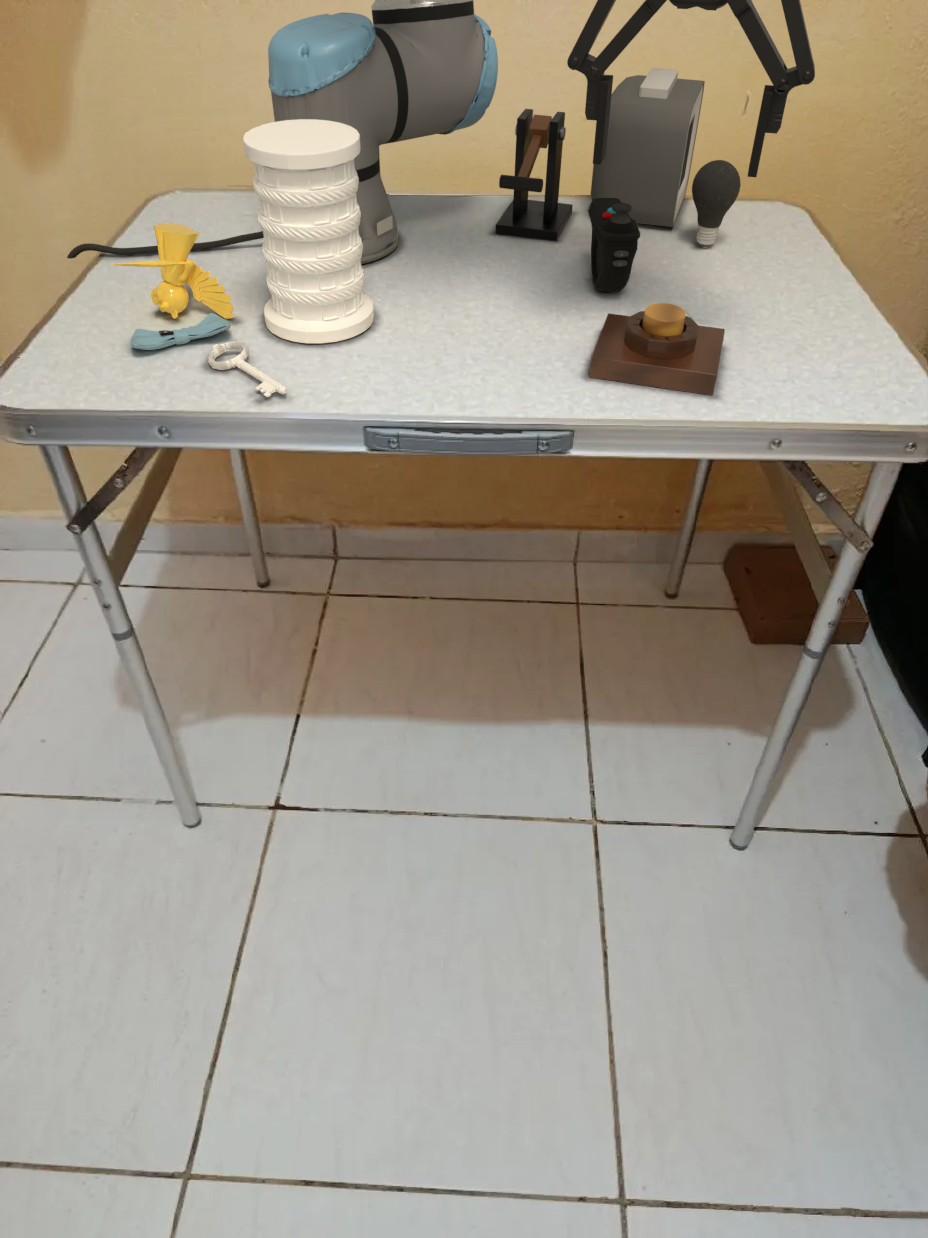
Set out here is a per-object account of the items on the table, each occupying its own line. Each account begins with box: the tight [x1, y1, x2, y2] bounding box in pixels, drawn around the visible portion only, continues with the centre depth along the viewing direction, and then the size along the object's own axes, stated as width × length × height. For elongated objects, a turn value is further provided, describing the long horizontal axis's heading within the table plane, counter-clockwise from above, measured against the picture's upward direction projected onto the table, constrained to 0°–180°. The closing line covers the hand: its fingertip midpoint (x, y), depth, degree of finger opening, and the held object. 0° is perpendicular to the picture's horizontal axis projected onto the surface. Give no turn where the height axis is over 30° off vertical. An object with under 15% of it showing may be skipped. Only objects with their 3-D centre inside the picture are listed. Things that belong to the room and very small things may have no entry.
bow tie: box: [130, 312, 232, 351], centre depth 94 cm, size 10×2×5 cm
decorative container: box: [242, 119, 375, 344], centre depth 92 cm, size 12×12×18 cm
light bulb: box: [691, 159, 741, 249], centre depth 111 cm, size 6×6×10 cm
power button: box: [642, 302, 687, 336], centre depth 89 cm, size 4×4×2 cm
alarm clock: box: [590, 67, 706, 228], centre depth 119 cm, size 16×11×16 cm
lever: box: [498, 114, 553, 193], centre depth 110 cm, size 12×5×2 cm, turn 164°
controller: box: [587, 198, 641, 293], centre depth 103 cm, size 4×12×10 cm, turn 3°
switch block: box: [588, 310, 726, 396], centre depth 91 cm, size 12×10×4 cm
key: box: [207, 340, 288, 398], centre depth 89 cm, size 12×1×4 cm
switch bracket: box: [494, 108, 573, 242], centre depth 115 cm, size 10×8×13 cm
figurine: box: [110, 222, 235, 320], centre depth 95 cm, size 12×12×9 cm
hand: (674, 166), depth 82 cm, fingers open, 13 cm apart
